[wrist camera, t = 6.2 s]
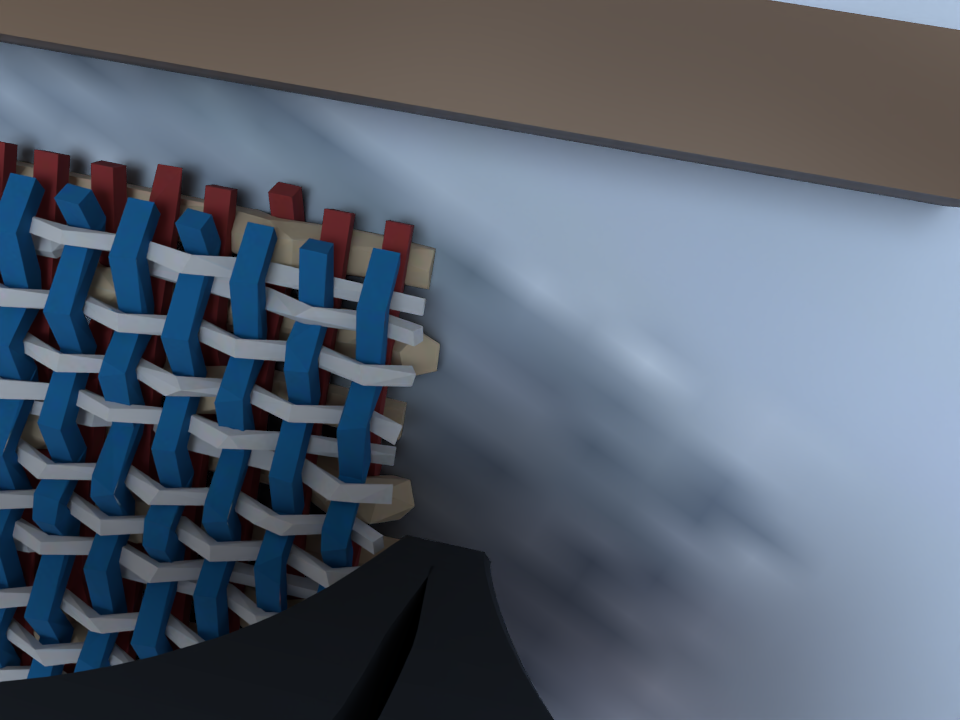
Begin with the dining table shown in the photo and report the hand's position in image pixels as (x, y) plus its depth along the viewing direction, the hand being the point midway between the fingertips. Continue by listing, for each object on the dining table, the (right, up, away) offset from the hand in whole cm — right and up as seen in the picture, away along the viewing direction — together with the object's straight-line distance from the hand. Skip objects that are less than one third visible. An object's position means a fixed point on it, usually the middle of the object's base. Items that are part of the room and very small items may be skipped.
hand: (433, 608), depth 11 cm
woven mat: (-5, +2, +2) cm, 6 cm away
